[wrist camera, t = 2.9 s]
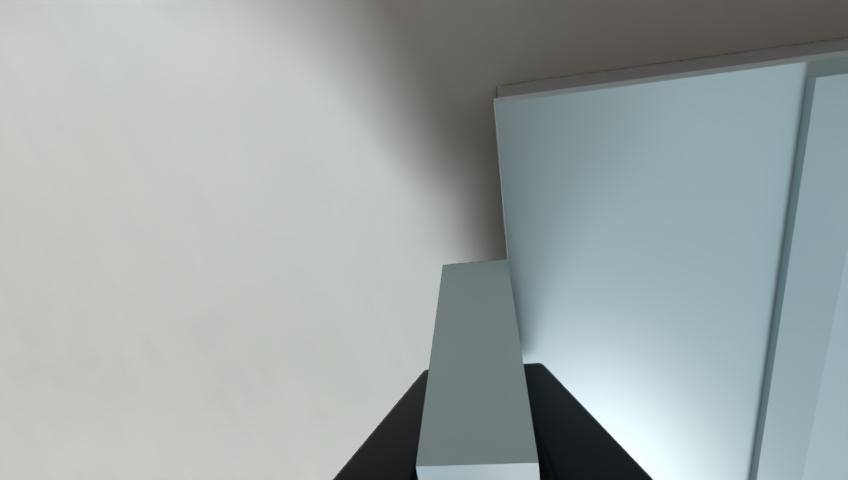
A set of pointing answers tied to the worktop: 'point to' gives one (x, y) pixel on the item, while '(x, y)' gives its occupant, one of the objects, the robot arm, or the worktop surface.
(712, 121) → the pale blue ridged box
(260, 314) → the worktop surface
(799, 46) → the tub
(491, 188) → the worktop surface
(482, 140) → the worktop surface
